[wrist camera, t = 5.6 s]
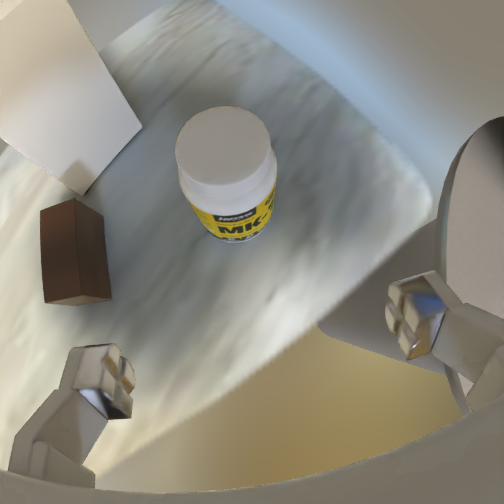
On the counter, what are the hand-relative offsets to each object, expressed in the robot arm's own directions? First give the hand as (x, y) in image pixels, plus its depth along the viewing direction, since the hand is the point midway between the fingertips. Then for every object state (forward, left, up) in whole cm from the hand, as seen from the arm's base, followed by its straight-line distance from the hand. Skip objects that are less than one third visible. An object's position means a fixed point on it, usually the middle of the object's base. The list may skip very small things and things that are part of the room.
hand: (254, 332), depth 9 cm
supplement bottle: (+3, -7, -11) cm, 13 cm away
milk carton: (+17, -9, -11) cm, 22 cm away
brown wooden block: (+12, 0, -11) cm, 16 cm away
